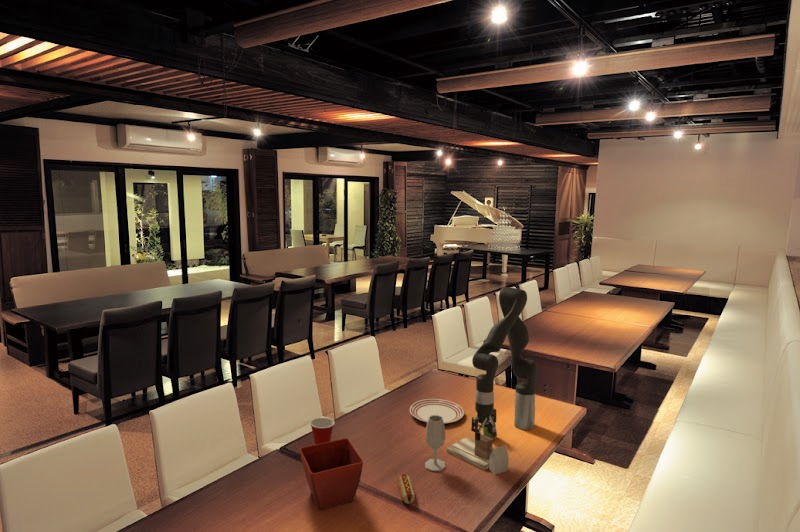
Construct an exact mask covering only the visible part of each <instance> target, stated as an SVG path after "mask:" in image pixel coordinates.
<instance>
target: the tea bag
mask: <svg viewBox="0 0 800 532" xmlns="http://www.w3.org/2000/svg"><path fill="white" fill-rule="evenodd" d="M509 459H510V458H509V453H508V448H507V444H505V445H500V446H498V447H494V448H493V449H492V452H491V454H490V458H489V468H488V470H489V471H490V472H491V473H492V474H493V473H494V474H493V475H498V474H501V472H502V473H505V472H507V471H509V461H510V460H509Z"/></svg>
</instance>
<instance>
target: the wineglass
mask: <svg viewBox="0 0 800 532" xmlns="http://www.w3.org/2000/svg"><path fill="white" fill-rule="evenodd" d="M425 439H426V443H427V446H428V447H429V448H431V449H432V450H433V458H430V459H428V460H427V461H425V462H424V468H425V469H426V470H428V471H430V472H442V471H443V470H444V469H446V462H445V461H443V460H442V459H439V458H438V450H439V449H440V448H442V447H443V446H444V444H445V440H446V428H445V424H444V421H443V417H442V416H439V415H431V416H430V417H429V418H428V421H427V422H426V427H425Z"/></svg>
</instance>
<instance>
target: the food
mask: <svg viewBox="0 0 800 532" xmlns="http://www.w3.org/2000/svg"><path fill="white" fill-rule="evenodd" d="M397 486H398V490H399V494H400V498H401V499H402V501H403V502H404V503H405V504H412V503H414V502H415V500H416V491H415V487H414V484H413V483H412V481H411V477H410V476H409V475H406V474H405V473H403V474H401V475H400V476H399V477H398V484H397Z"/></svg>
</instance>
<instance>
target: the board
mask: <svg viewBox="0 0 800 532" xmlns="http://www.w3.org/2000/svg"><path fill="white" fill-rule="evenodd" d="M474 448H475V439H472V438H470V437H468V436H466V437H464V438H462V439H460V440H458V441H457V442H455V443H453V444H451V445H449V446H447V447H446V453H447V452H448V453H447V454H449V453H450V454H449V455H451V454H452V456H453V455H454V457H455V456H456V458H458V459H459V460H461V461H464V462H466V463H468V464H470V465H472V466H474V467H476V468H478V469H481V470H483V471H487V470H489V459H488V460H485V459H482V458H480V457H478V456H476V455H475V450H474ZM492 449H494V448H493V447H492Z"/></svg>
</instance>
